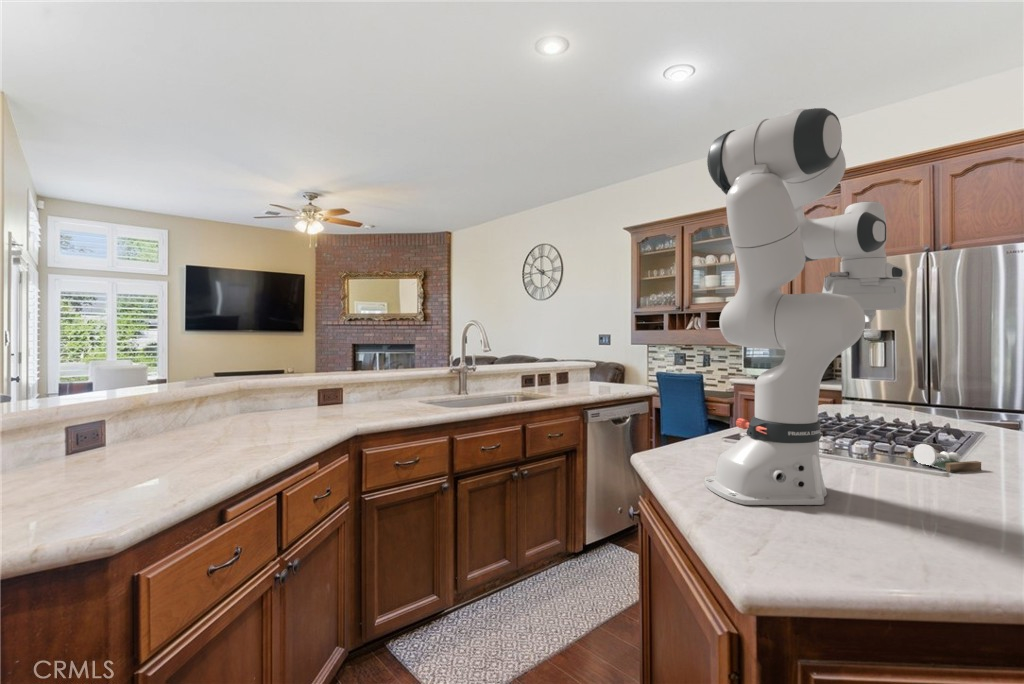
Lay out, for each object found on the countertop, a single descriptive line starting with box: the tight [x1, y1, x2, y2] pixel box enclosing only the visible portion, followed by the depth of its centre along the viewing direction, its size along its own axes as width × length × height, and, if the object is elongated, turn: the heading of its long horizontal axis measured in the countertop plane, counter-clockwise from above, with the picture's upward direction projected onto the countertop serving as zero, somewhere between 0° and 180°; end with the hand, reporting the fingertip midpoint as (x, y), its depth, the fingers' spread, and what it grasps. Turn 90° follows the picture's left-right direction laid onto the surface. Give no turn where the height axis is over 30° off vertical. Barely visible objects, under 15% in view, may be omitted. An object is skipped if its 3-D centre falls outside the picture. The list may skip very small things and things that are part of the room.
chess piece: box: [913, 443, 963, 467], centre depth 111 cm, size 5×5×10 cm
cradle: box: [905, 449, 982, 473], centre depth 111 cm, size 8×10×2 cm
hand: (862, 329), depth 117 cm, fingers closed
